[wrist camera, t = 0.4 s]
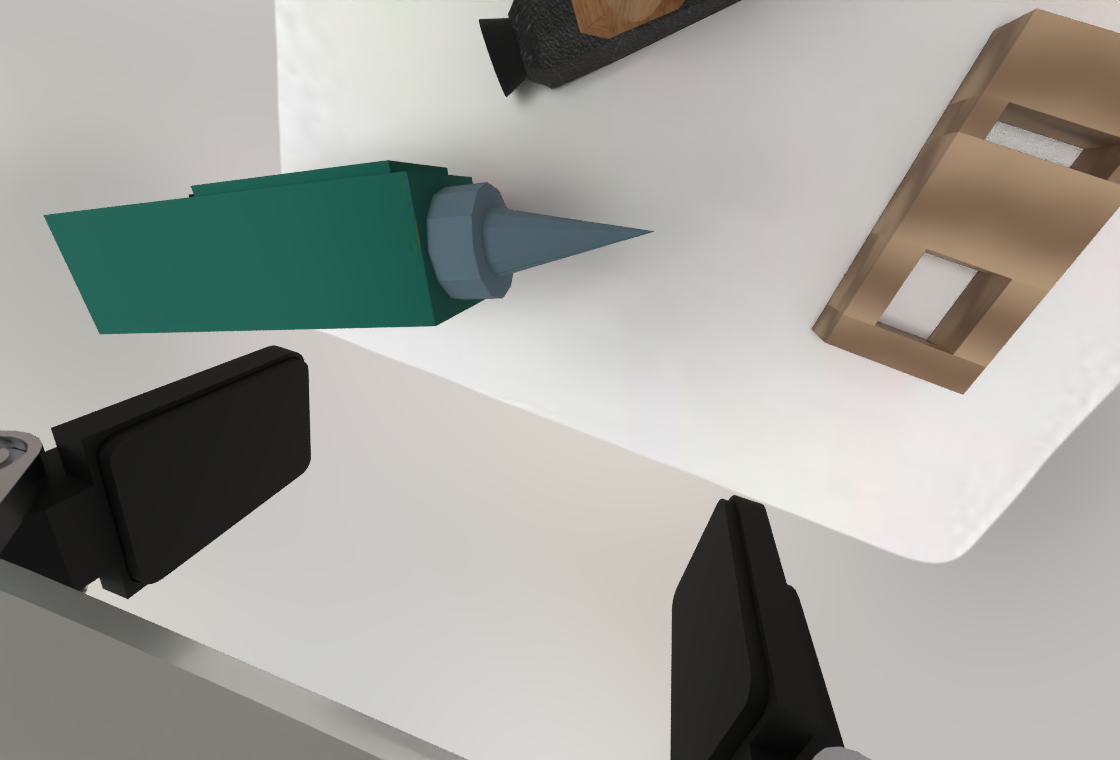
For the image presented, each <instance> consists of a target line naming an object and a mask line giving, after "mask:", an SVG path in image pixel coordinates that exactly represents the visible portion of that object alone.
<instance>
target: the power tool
mask: <svg viewBox="0 0 1120 760" xmlns="http://www.w3.org/2000/svg"><path fill="white" fill-rule="evenodd" d="M191 188H192V191H193V194H190V195H189V198H181V199H173V200H165V201H157V202H149V203H140V204H132V205H124V206H115V207H107V208H99V209H91V210H82V211H74V212H66V213H58V214H49V215H44V217H45V219H46V221H47V224H48V225H49V228H50V230H51V232H52V234H53V236H54V238H55V241H56V242H57V245H58V247H59V249H60V251H61V253H62V255H63V257H64V259H65V262H66V264H67V266H68V268H69V270H70V272H71V274H72V276H73V278H74V281H75V283H76V285H77V287H78V289H79V291H80V293H81V295H82V298H83V300H84V302H85V304H86V306H87V308H88V310H89V312H90V314H91V316H92V319H93V321H94V323H95V325H96V327H97V329H98V331H99V333H100V334H122V333H123V334H127V333H167V332H168V333H169V332H210V331H247V330H248V331H250V330H251V331H252V330H294V329H335V328H377V327H419V326H437V325H439V324H440V323H442V322H444V321H446V320H448V319H450V318H452V317H453V316H455V315H457V314H459V313H461V312H463V311H465V310H466V309H468V308H470V307H472V306H474V305H476V304H477V303H479V302H481V301H483V300H485V299H494V298H503V297H504V296H505V294H506V293H507V291H508V290H509V288H510V287H511V282H512V276H513V273H514V272H518V271H521V270H524V269H528V268H531V267H535V266H538V265H541V264H545V263H548V262H552V261H555V260H558V259H562V258H565V257H569V256H572V255H576V254H579V253H582V252H586V251H589V250H593V249H596V248H599V247H603V246H606V245H610V244H613V243H616V242H620V241H623V240H627V239H630V238H633V237H637V236H640V235H644V234H647V233H651V232H654V231H648V230H642V229H635V228H628V227H621V226H614V225H608V224H601V223H594V222H587V221H581V220H574V219H567V218H560V217H553V216H547V215H540V214H533V213H526V212H519V211H513V210H507V208H506V206H505V203H504V201H503V199H502V197H501V194H500V192H499V191H498V190H497V188H494V187H493V186H492V185H490V184H489V183H488V182H487V183H478V184H473V183H472V177H463V176H453V175H448V170H447V168H444V167H436V166H428V165H421V164H413V163H405V162H397V161H389V160H387V161H379V162H371V163H364V164H356V165H348V166H340V167H333V168H325V169H317V170H310V171H302V172H294V173H287V174H279V175H272V176H264V177H257V178H248V179H240V180H233V181H225V182H217V183H210V184H202V185H194V186H191Z"/></svg>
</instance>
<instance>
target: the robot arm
mask: <svg viewBox="0 0 1120 760" xmlns="http://www.w3.org/2000/svg"><path fill="white" fill-rule="evenodd" d="M51 430H52V433H53V436H54V439H55V442H56V445H57V447H56V448H53V449H51V450H48V451H46V452H45V451H44V448H43V445H42V443H41V441H40V439H39V438H38V437H36V436H34V435H32V434H30V433H25V432H19V431H0V760H467V759H465V758H463V757H460V756H458V755H456V754H454V753H452V752H449V751H447V750H445V749H442V748H440V747H438V746H436V745H433V744H431V743H429V742H426V741H424V740H422V739H419V738H417V737H415V736H413V735H410V734H408V733H406V732H404V731H401V730H399V729H397V728H395V727H392V726H390V725H388V724H386V723H383V722H381V721H379V720H376V719H374V718H372V717H370V716H367V715H365V714H363V713H361V712H358V711H356V710H354V709H351V708H349V707H347V706H345V705H342V704H340V703H338V702H335V701H333V700H331V699H328V698H326V697H324V696H322V695H319V694H317V693H315V692H312V691H310V690H308V689H305V688H303V687H301V686H298V685H296V684H294V683H291V682H289V681H287V680H285V679H282V678H280V677H277V676H275V675H273V674H271V673H268V672H266V671H264V670H262V669H259V668H257V667H254V666H252V665H250V664H247V663H245V662H243V661H241V660H238V659H236V658H234V657H231V656H229V655H226V654H224V653H222V652H220V651H218V650H215V649H213V648H211V647H208V646H206V645H204V644H201V643H199V642H197V641H194V640H192V639H190V638H187V637H185V636H183V635H180V634H178V633H176V632H173V631H171V630H169V629H167V628H164V627H162V626H159V625H157V624H155V623H152V622H150V621H148V620H145V619H143V618H141V617H138V616H136V615H134V614H131V613H129V612H127V611H124V610H122V609H119V608H117V607H115V606H112V605H110V604H108V603H105V602H103V601H101V600H98V599H96V598H93V597H91V596H89V595H87V594H85V593H86V591H87V587H88V584H90V583H91V582H93V581H94V580H96V579H97V578H100V580H101V584H102V587H103V589H105V590H108V591H110V592H112V593H115V594H118V595H120V596H122V597H124V598H126V599H129V598H130V597H131V596H133V595H134V594H135V593H137V592H138V591H139V590H141V589H142V588H143V587H145V586H146V585H147V584H153V583H156V582H158V581H159V580H161V579H163V578H164V577H165V576H167V575H168V574H169V573H171V572H172V571H173V570H175V569H176V568H177V567H179V566H180V565H181V564H183V563H184V562H185V561H187V560H188V559H189V558H191V557H192V556H193V555H195V554H196V553H197V552H199V551H200V550H201V549H203V548H204V547H205V546H207V545H208V544H209V543H211V542H212V541H213V540H215V539H216V538H217V537H219V536H220V535H221V534H223V533H224V532H225V531H227V530H228V529H229V528H231V527H232V526H233V525H235V524H236V523H237V522H239V521H240V520H241V519H243V518H244V517H245V516H247V515H248V514H249V513H251V512H252V511H253V510H255V509H256V508H257V507H259V506H260V505H261V504H263V503H264V502H265V501H267V500H268V499H269V498H271V497H272V496H273V495H275V494H276V493H277V492H279V491H280V490H281V489H283V488H284V487H285V486H287V485H288V484H289V483H291V482H292V481H293V480H295V479H296V478H297V477H299V476H300V475H301V474H303V473H304V472H305V470H306V469H307V468H308V466H309V464H310V460H311V445H310V410H309V374H308V365H307V364H306V363H305V362H304V359H303V357H302V355H300V354H299V353H297V352H294V351H291V350H288V349H285V348H282V347H278V346H269V347H266V348H263V349H261V350H258V351H255V352H252V353H250V354H248V355H244V356H242V357H239V358H237V359H234V360H231V361H228V362H226V363H223V364H220V365H218V366H215V367H213V368H210V369H207V370H204V371H202V372H199V373H196V374H194V375H191V376H189V377H186V378H183V379H180V380H178V381H175V382H172V383H170V384H167V385H165V386H162V387H159V388H156V389H154V390H151V391H149V392H146V393H143V394H140V395H138V396H135V397H132V398H130V399H127V400H124V401H122V402H119V403H117V404H114V405H111V406H109V407H106V408H103V409H101V410H98V411H95V412H92V413H90V414H87V415H84V416H82V417H79V418H77V419H74V420H71V421H68V422H66V423H63V424H61V425H58V426H55V427H52V428H51ZM671 665H672V666H671V668H672V669H671V760H870V759H869V758H867V757H865V756H863V755H862V754H860V753H859V752H857V751H853V750H850V749H847V748H845V747H844V744H843V741H842V737H841V734H840V731H839V728H838V724H837V721H836V718H835V714H834V711H833V708H832V705H831V701H830V698H829V695H828V691H827V688H826V685H825V681H824V678H823V675H822V672H821V669H820V665H819V662H818V658H817V656H816V652H815V649H814V645H813V642H812V639H811V635H810V632H809V629H808V626H807V622H806V619H805V616H804V612H803V609H802V606H801V603H800V599H799V597H798V594H797V592H796V590H795V589H794V588H793V587H792V586H790V585H787V583H786V579H785V576H784V572H783V569H782V565H781V562H780V558H779V555H778V551H777V548H776V544H775V541H774V537H773V534H772V530H771V526H770V523H769V519H768V516H767V512H766V509H765V507H764V505H763V504H760V503H757V502H754V501H751V500H748V499H745V498H742V497H739V496H736V495H733V496H732V497H731V498H730V499H729V500H725V499H720V500H719V502H718V503H717V505H716V507H715V509H714V512H713V514H712V516H711V518H710V520H709V522H708V524H707V526H706V528H705V530H704V532H703V535H702V536H701V539H700V541H699V543H698V545H697V547H696V549H695V551H694V553H693V555H692V557H691V559H690V561H689V564H688V566H687V568H686V570H685V572H684V574H683V576H682V578H681V580H680V582H679V584H678V586H677V589H676V591H675V594H674V599H673V604H672V664H671Z"/></svg>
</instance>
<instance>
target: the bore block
mask: <svg viewBox="0 0 1120 760" xmlns="http://www.w3.org/2000/svg"><path fill="white" fill-rule="evenodd" d="M996 121H1000V122H1004V123H1007V124H1010V125H1013V126H1016V127H1019V128H1022V129H1025V130H1028V131H1031V132H1034V133H1038V134H1041V135H1044V136H1047V137H1050V138H1053V139H1056V140H1059V141H1062V142H1065V143H1068V144H1072V145H1075V146H1078V147H1081V148H1084V150H1083V152H1082V153H1081V154H1080V156H1079V157H1078V158H1077V160H1076V161H1075V162H1074V164H1073V165H1072V166H1071V168H1068V167H1065V166H1062V165H1058V164H1055V163H1052V162H1049V161H1046V160H1043V159H1040V158H1037V157H1034V156H1031V155H1028V154H1025V153H1022V152H1019V151H1016V150H1013V149H1010V148H1007V147H1004V146H1001V145H998V144H994V143H991V142H988V141H985V138H986V137H987V135H988V134H989V132H990V131H991V129H992V128H993V126H994V125H995V123H996ZM1119 207H1120V33H1117V32H1113V31H1110V30H1107V29H1103V28H1100V27H1097V26H1093V25H1090V24H1087V23H1083V22H1080V21H1077V20H1073V19H1070V18H1067V17H1063V16H1060V15H1057V14H1053V13H1050V12H1047V11H1043V10H1040V9H1035V10H1033V11H1031V12H1029V13H1027V14H1025V15H1023V16H1021V17H1019V18H1017V19H1015V20H1014V21H1012V22H1010V23H1008V24H1006V25H1004V26H1002V27H1000V28H998V29H996V30H994V32H993V33H992V35H991V37H990V38H989V40H988V42H987V43H986V45H985V46H984V48H983V50H982V51H981V53H980V55H979V56H978V58H977V60H976V61H975V63H974V64H973V66H972V68H971V69H970V71H969V73H968V74H967V76H966V78H965V79H964V81H963V82H962V84H961V86H960V87H959V89H958V91H957V92H956V94H955V96H954V97H953V99H952V100H951V102H950V104H949V105H948V107H947V109H946V110H945V112H944V114H943V115H942V117H941V118H940V120H939V122H938V123H937V125H936V127H935V128H934V130H933V132H932V133H931V135H930V136H929V138H928V140H927V141H926V143H925V145H924V146H923V148H922V150H921V151H920V153H919V154H918V156H917V158H916V159H915V161H914V163H913V164H912V166H911V168H910V169H909V171H908V172H907V174H906V176H905V177H904V179H903V181H902V182H901V184H900V186H899V187H898V189H897V191H896V192H895V194H894V195H893V197H892V199H891V200H890V202H889V204H888V205H887V207H886V209H885V210H884V212H883V213H882V215H881V217H880V218H879V220H878V222H877V223H876V225H875V227H874V228H873V230H872V231H871V233H870V235H869V236H868V238H867V240H866V241H865V243H864V245H863V246H862V248H861V249H860V251H859V253H858V254H857V256H856V258H855V259H854V261H853V263H852V264H851V266H850V267H849V269H848V271H847V272H846V274H845V276H844V277H843V279H842V281H841V282H840V284H839V285H838V287H837V289H836V290H835V292H834V294H833V295H832V297H831V299H830V300H829V302H828V303H827V305H826V307H825V308H824V310H823V312H822V313H821V315H820V317H819V318H818V320H817V322H816V323H815V325H814V326H813V328H812V330H813V331H814V332H815V333H816V334H817V335H818V336H819V337H820V338H821V339H822V340H823V341H824V342H825V343H828V344H830V345H833V346H836V347H838V348H841V349H844V350H846V351H849V352H851V353H854V354H857V355H859V356H862V357H865V358H867V359H870V360H873V361H875V362H878V363H881V364H883V365H886V366H889V367H891V368H894V369H896V370H899V371H902V372H904V373H907V374H910V375H912V376H915V377H918V378H920V379H923V380H926V381H928V382H931V383H934V384H936V385H939V386H941V387H944V388H947V389H949V390H952V391H955V392H957V393H960V394H964V393H965V392H966V391H967V389H968V388H969V387H970V386H971V385H972V383H973V382H974V381H975V380H976V379H977V377H978V376H979V375H980V374H981V373H982V371H983V370H984V369H985V368H986V367H987V365H988V364H989V363H990V362H991V361H992V359H993V358H994V357H995V356H996V355H997V353H998V352H999V351H1000V350H1001V349H1002V347H1003V346H1004V345H1005V344H1006V342H1007V341H1008V340H1009V339H1010V338H1011V336H1012V335H1013V334H1014V333H1015V332H1016V330H1017V329H1018V328H1019V327H1020V326H1021V324H1022V323H1023V322H1024V321H1025V320H1026V318H1027V317H1028V316H1029V315H1030V314H1031V312H1032V311H1033V310H1034V309H1035V308H1036V306H1037V305H1038V304H1039V303H1040V302H1041V300H1042V299H1043V298H1044V297H1045V296H1046V294H1047V293H1048V292H1049V291H1050V290H1051V288H1052V287H1053V286H1054V285H1055V284H1056V282H1057V281H1058V280H1059V279H1060V278H1061V276H1062V275H1063V274H1064V273H1065V272H1066V270H1067V269H1068V268H1069V267H1070V266H1071V264H1072V263H1073V262H1074V261H1075V260H1076V258H1077V257H1078V256H1079V255H1080V254H1081V252H1082V251H1083V250H1084V249H1085V248H1086V246H1087V245H1088V244H1089V243H1090V242H1091V240H1092V239H1093V238H1094V237H1095V236H1096V234H1097V233H1098V232H1099V231H1100V230H1101V228H1102V227H1103V226H1104V225H1105V223H1106V222H1107V221H1108V220H1109V219H1110V217H1111V216H1112V215H1113V214H1114V213H1115V211H1116V210H1117V209H1118V208H1119ZM924 252H927V253H930V254H932V255H935V256H938V257H941V258H944V259H947V260H949V261H952V262H955V263H958V264H961V265H964V266H966V267H969V268H972V269H975V270H978V272H977V274H976V275H975V277H974V278H973V279H972V281H971V282H970V283H969V285H968V286H967V287H966V289H965V290H964V291H963V293H962V294H961V295H960V297H959V298H958V299H957V301H956V302H955V303H954V305H953V306H952V307H951V309H950V310H949V311H948V313H947V314H946V316H945V317H944V318H943V320H942V321H941V322H940V324H939V325H938V326H937V328H936V329H935V330H934V332H933V333H932V334H931V336H930V337H929V338H928V340H925V339H923V338H920V337H917V336H915V335H912V334H909V333H907V332H904V331H901V330H898V329H896V328H893V327H890V326H888V325H885V324H882V323H879V322H877V321H878V320H879V318H880V317H881V315H882V314H883V312H884V311H885V309H886V308H887V307H888V305H889V304H890V302H891V301H892V299H893V298H894V296H895V295H896V293H897V292H898V290H899V289H900V287H901V286H902V284H903V283H904V281H905V280H906V278H907V277H908V275H909V274H910V272H911V271H912V269H913V268H914V267H915V265H916V264H917V262H918V261H919V259H920V258H921V256H922V255H923V253H924Z"/></svg>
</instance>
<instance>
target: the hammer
mask: <svg viewBox="0 0 1120 760" xmlns="http://www.w3.org/2000/svg"><path fill="white" fill-rule="evenodd" d="M739 1H741V0H514V1H513V4H512V6H511V8H510V11H509V13H508V16H509V18H498V19H479V23H480V27H481V31H482V34H483V38H484V41H485V44H486V47H487V50H488V53H489V56H490V59H491V61H492V64H493V67H494V70H495V72H496V75H497V78H498V80H499V83H500V85H501V88H502V90H503V92H504V94H505V96H506V97H507V96H509V95H510V94H511V93H512V92H513V91H514V90H515V89H516V88H517V87H518V86H519V85H520V84H521V83H522V82H524V81H525V80H526V79H527V78H528V77H529V79H530V80H532V81H534V82H537V83H540V84H543V85H546V86H548V87H549V88H551V89H553V88H555V87H557V86H560V85H562V84H564V83H567V82H569V81H571V80H573V79H576V78H578V77H580V76H583V75H585V74H587V73H589V72H592V71H594V70H596V69H598V68H601V67H603V66H605V65H608V64H610V63H612V62H614V61H617V60H619V59H621V58H623V57H626V56H628V55H630V54H632V53H634V52H636V51H638V50H640V49H642V48H644V47H646V46H648V45H650V44H652V43H654V42H657V41H659V40H661V39H663V38H665V37H667V36H669V35H671V34H673V33H675V32H677V31H679V30H681V29H683V28H685V27H687V26H689V25H691V24H693V23H695V22H698V21H700V20H702V19H704V18H706V17H708V16H710V15H712V14H714V13H716V12H718V11H720V10H722V9H724V8H726V7H728V6H731V5H733V4H735V3H737V2H739Z"/></svg>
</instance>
